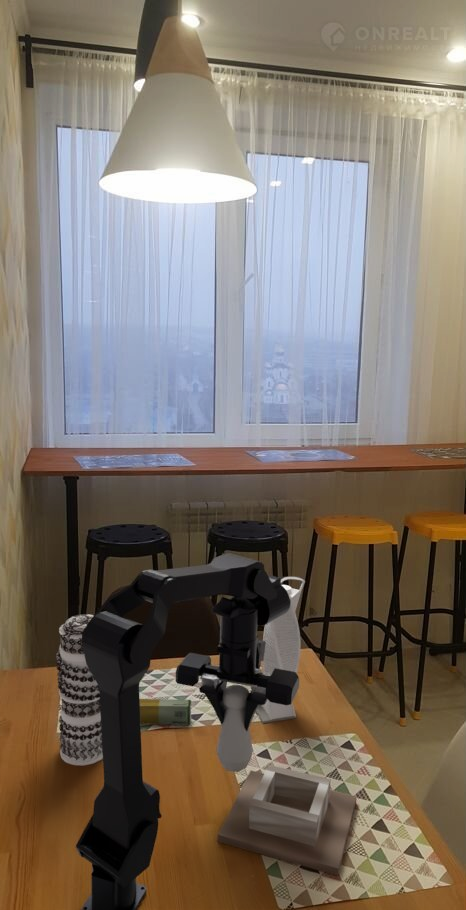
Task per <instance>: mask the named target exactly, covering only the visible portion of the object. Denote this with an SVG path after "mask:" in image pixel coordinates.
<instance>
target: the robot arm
mask: <svg viewBox="0 0 466 910" xmlns="http://www.w3.org/2000/svg"><path fill="white" fill-rule="evenodd" d="M281 579H282V578H281V577H278V576H275V575H268V573H267V572H266V571H265V564H264V562H262V561H259V560H256V559H252V558H248V557H246V556H243V555H242V556H241V555H238V554H234V553H231V552H230V553H229V552H227V553H224V554H221V555H219V556H215V557H214V558H212V561H210V563H207V564H201V565H193V566H184V567H176V568H166V569H160V570H159V569H158V570H154V569H146V570H142V571H141V572H140V573H138V575H137V576H136V577H135V579H133V580H132V582H131V583H130V584H129V585H127V586H126V587H125V588H122V589H121V590H119V591H118V592H116V593H115V594H113V595H112V596H110V597H108V598H107V599H106V600H104V602H103V603H102V605H101V606H100V607H99V609H98V610H97V611H96V613H94V616H93V617H92V619H91V620H90V621H89V622H88V624H87V626H86V627H85V628H84V630H83V633H82V647H83V651H84V656H85V660H86V664H87V666H88V668H89V670H90V671H91V673H92V675H93V677H94V679H95V680H96V682H97V684H98V686H99V695H100V713H101V732H102V750H103V758H102V765H103V767H102V768H103V781H104V782H103V786H102V788H101V789H100V791H99V792H98V794H97V795H96V796H95V798H94V803H93V811H92V815H91V817H90V818H89V821H88V822H87V824H86V826H85V827H84V830H82V833H81V835H80V837H79V839H78V841H77V843H76V845H75V848H76V851H77V853H78V855H79V856H80V857H82V858H83V859H85V860H86V861H88V862H90V863H91V875H90V877H91V879H90V880H91V881H90V882H91V883H90V884H91V885H90V887H91V892H90V895H89V896H88V898H87V899H86V900H85V902H84V904H83V905H82V907H81V910H137V909H138V906H139V905H140V903H141V901H142V900H143V898H144V896H145V895H146V893H147V886H145V885H143V884H140V883H137V877H139V876H140V875H141V874H142V873H143V872H145V870H147V869H148V868H149V867H150V864H151V860H152V856H153V852H154V849H155V844H156V840H157V836H158V830H159V819H161V818H162V813H161V811H160V802H161V800H160V799H161V795H160V791H159V789H157V788H156V787H154V786H153V785H152V784H151V785H150V784H149V783H147V782H146V781H144V779H143V777H144V776H143V759H142V758H143V757H142V756H143V754H142V753H143V752H142V751H143V750H142V731H141V728H142V727H141V726H142V723H140V699H141V698H140V683H141V681H142V680H143V678H144V676H145V675H146V674H147V672H148V670H149V669H150V667H151V659H152V652H153V651H154V649H155V648H156V647H157V645H158V644H159V643H160V641H161V639H162V638H163V636H164V635H165V633H166V627H167V621H168V615H169V612H170V610H171V608H172V607H173V606H174V604H177V603H182V602H187V601H192V600H199V599H204V598H210V597H215V596H221V595H222V597H220V600H219V601H218V602H217V603H215V604H214V606H213V608H212V609H211V613H212V614H215V615H218V616H220V625H219V626H220V628H219V644H218V645H217V651H216V652H217V654H219V656H218V657H219V660H218V662H219V663H218V666H217V665H212V657H211V656H209V655H207V654H206V655H205V654H199V653H194V652H189V653H188V654H186V656H185V657H184V658H183V659H182V660H181V662H179V664H178V665H177V667H176V670H175V683H176V684H177V685H182V686H189V687H194V686H195V685H197V684H198V683H199V681H200V680H201V685H200V687H199V688H198V691H199V692H200V693H201V694H204V695H205V697H206V699H207V700H208V702H209V703H210V705H211V706H212V708H213V710H214V711H215V714H216V716H217V719H218V721H219V722H220V725H221V726H222V724H223V722H224V713H225V708H226V706H225V704H224V702H223V692H224V690H225V689H226V688H227V687H228V686H227V684H228V683H232V684H235V685H240V686H246V687H250V691H249V693H250V694H249V695H248V697H247V699H246V707H245V720H244V727H245V729H246V731H248V729H249V730H250V726H251V723H252V721H253V719H254V716H255V714H256V712H255V711H256V709H257V706H258V705H264V704H266V702H267V700H269V701H270V702H272V703H277V704H282V705H290V704H293V701H294V700H295V696H296V694H298V693H297V692H298V690H299V688H300V677H299V675H298V673H297V674H296V672H292V671H287V670H282V669H276V668H275V669H274V671H273V672H272V674H267V673H263V672H261V673H257V674H256V669H259V668H260V667H261V666H262V665H261V664H262V663H261V662H263V660H264V652H265V644H266V642H265V641H263V639H262V640H261V639H259V635H258V627H264V626H265V625H266V624H267V623H269V622H271V621H273V620H275V619H276V618H278V617H280V616H282V615H283V614H285V613H287V611H288V610H289V608H290V604H291V600H290V599H289V595H288V593H287V591H286V590H285V588H284V587H283V586H282V585H283V584H282V583H281ZM224 596H230V597H229V598H227V597H224ZM145 601H146V602H149V603H151V604H152V605H151V609H150V614H149V615H150V616H149V618H147V620H146V621H145V623H144V624H142V623H139V622H136V621H134V620H132V619H130V618H126V617H125V615H126V614H128V613H130V612H132V611H133V610H135V609H136V608H138V607H140V606H141V605H143V603H145ZM199 678H200V680H199Z"/></svg>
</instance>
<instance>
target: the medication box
mask: <svg viewBox="0 0 466 910" xmlns="http://www.w3.org/2000/svg"><path fill="white" fill-rule="evenodd" d="M139 699H140V724H146V725H148V724H149V725H150V724H151V725H182V726H183V725H187V726H189V725H191V723H192V701H191V700H192V699H171V698H170V699H167V698H165V699H163V698H162V699H161V698H159V699H158V698H157V699H156V698H155V699H154V698H139Z"/></svg>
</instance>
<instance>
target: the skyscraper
mask: <svg viewBox="0 0 466 910" xmlns="http://www.w3.org/2000/svg"><path fill="white" fill-rule="evenodd" d="M288 580H297V581H301V585H300V587H299V589H296V588H292V587H291V586H290V585H287V584H282V583H283V582H284V581H288ZM305 583H306V580H305V579H303V578H301V577H299V576H284V577H283V578H281V585H282V586H283V587H284V588H285V590H286V591H287V593H288V595H289V599H290V600H291V604H290V608H289V610H288V611H287V613H285V614H283V615H282V616H280V617H278V618H276V619H275V620H273V621H271V622H269V623H267V624H266V625H264V629H263V638H262V641H265V642H266V644H265V652H264V660H263V661H262V667H261V666H260V668H259V669H256V674H257V673H267V674H272V672H273V671H274V669H275V668H276V669H282V670H287V671H292V672H296V674H297V675H298V669H299V664H300V660H301V659H300V657H301V633H300V626H299V622H298V618H297V614H296V613H297V612H296V611H297V606H298V604H299V600H300V597H301V594H302V590H303V588H304V586H305ZM255 714H256V715H257V716H258V717H259V720H260V722H261V723H262V724H267V723H273V722H274V723H275V722H280V721H285V720H286V721H287V720H292V719H296V718H297V714H296V711H295V707H294V705H293V703H292V704H290V705H282V704H277V703H272V702H270V701H269V700H267V702H266V704H264V705H258V706H257V709H256V711H255Z"/></svg>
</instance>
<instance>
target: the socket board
mask: <svg viewBox="0 0 466 910" xmlns="http://www.w3.org/2000/svg"><path fill="white" fill-rule="evenodd" d="M356 804H357V795H353V794H349V793H345V792H340V791H336V790H333V789H331V779H330V778H328V777H323V776H319V775H314V774H310V773H306V772H301V771H297V770H294V769H293V770H292V769H289V768H284V767H281V766H276V765H272V764H268V766H267V767H266V769H265V771H264V772H259V771H254V770H249V773H248V775H247V776H246V779H245V780H244V782H243V785H242V786H241V789H240V790H239V792H238V794H237V795H236V798H235V801H234V802H233V804H232V806H231V808H230V810H229V812H228V814H227V816H226V818H225V820H224V821H223V824H222V825H221V828H220V829H219V832H218V833H217V842H218V843H221V844H225V845H228V846H231V847H236V848H238V849H241V850H242V849H243V850H245V851H249V852H251V853H252V852H253V853H256V854H259V855H262V856H266V857H270V858H274V859H278V860H282V861H284V862H288V863H292V864H294V865H298V866H303V867H305V868H310V869H313V870H316V871H319V872H323V873H326V874H330V875H333V876H336V877H338V876H339V875H340V874H339V873H340V869H341V865H342V862H343V857H344V854H345V848H346V845H347V841H348V838H349V837H348V836H349V833H350V828H351V824H352V821H353V817H354V813H355V808H356Z"/></svg>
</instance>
